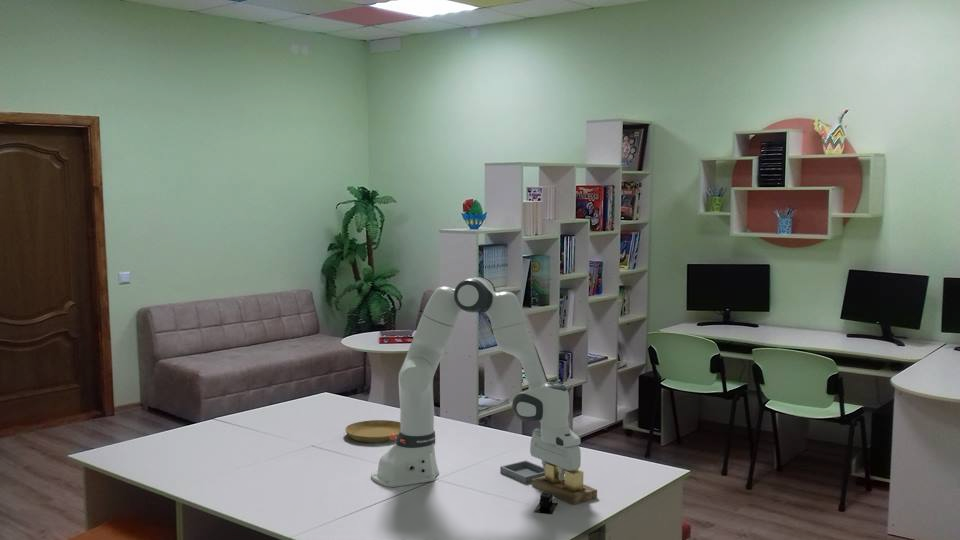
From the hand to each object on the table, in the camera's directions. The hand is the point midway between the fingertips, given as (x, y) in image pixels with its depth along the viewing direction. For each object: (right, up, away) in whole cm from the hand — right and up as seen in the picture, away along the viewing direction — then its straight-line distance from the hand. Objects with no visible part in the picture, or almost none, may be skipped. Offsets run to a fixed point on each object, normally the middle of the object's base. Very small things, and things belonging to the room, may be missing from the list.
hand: (554, 477), depth 262 cm
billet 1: (0, -4, 0) cm, 4 cm away
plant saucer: (-63, +1, +57) cm, 85 cm away
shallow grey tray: (-8, -3, +12) cm, 14 cm away
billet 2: (+5, -4, -7) cm, 10 cm away
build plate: (-4, -6, -16) cm, 17 cm away
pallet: (+3, -4, -3) cm, 6 cm away
